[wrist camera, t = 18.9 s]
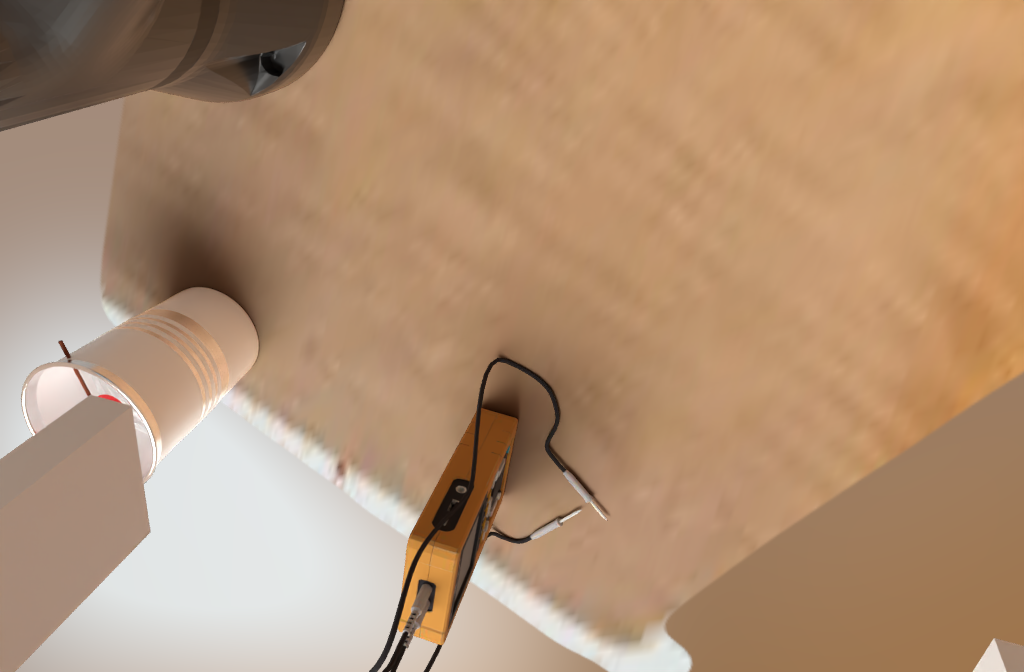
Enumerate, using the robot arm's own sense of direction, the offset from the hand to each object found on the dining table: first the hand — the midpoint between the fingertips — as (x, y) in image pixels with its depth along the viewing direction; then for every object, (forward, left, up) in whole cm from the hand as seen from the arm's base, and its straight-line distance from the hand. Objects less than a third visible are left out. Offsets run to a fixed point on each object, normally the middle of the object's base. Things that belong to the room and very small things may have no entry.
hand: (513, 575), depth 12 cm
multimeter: (-3, -23, -32) cm, 40 cm away
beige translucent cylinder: (-27, -19, -32) cm, 46 cm away
